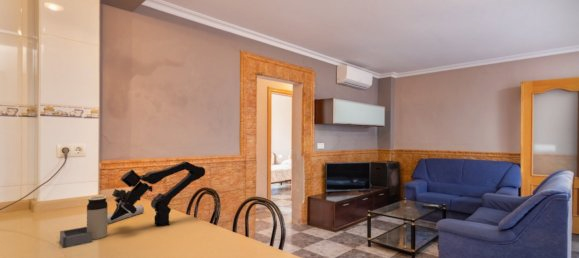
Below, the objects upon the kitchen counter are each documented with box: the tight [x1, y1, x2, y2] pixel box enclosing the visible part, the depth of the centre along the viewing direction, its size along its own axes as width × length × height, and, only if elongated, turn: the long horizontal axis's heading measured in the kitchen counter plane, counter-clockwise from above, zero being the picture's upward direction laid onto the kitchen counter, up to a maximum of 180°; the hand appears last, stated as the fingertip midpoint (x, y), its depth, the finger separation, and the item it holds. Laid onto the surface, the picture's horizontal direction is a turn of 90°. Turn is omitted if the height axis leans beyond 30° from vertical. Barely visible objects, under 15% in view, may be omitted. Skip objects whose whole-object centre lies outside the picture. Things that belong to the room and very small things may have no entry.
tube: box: [107, 204, 145, 225], centre depth 170 cm, size 5×5×25 cm
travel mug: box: [86, 195, 109, 241], centre depth 139 cm, size 8×8×18 cm
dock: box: [59, 226, 93, 249], centre depth 134 cm, size 10×12×4 cm
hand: (110, 219), depth 143 cm, fingers closed
